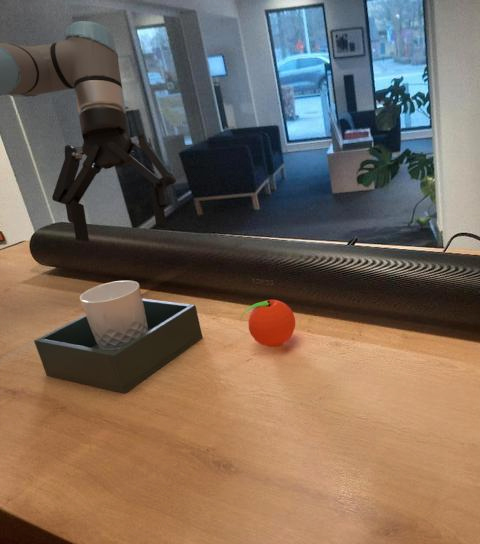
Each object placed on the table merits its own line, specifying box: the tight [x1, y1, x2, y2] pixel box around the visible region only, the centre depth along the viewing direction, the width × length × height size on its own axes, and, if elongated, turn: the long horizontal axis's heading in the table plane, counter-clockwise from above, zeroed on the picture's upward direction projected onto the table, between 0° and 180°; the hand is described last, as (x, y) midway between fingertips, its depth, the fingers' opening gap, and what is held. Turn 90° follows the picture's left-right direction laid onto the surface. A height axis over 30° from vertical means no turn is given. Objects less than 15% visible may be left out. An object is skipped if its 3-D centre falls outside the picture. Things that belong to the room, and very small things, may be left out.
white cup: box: [78, 280, 148, 352], centre depth 73 cm, size 8×8×10 cm
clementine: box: [239, 299, 296, 348], centre depth 74 cm, size 8×7×7 cm
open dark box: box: [33, 298, 204, 394], centre depth 74 cm, size 16×16×6 cm
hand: (122, 233), depth 84 cm, fingers open, 13 cm apart
